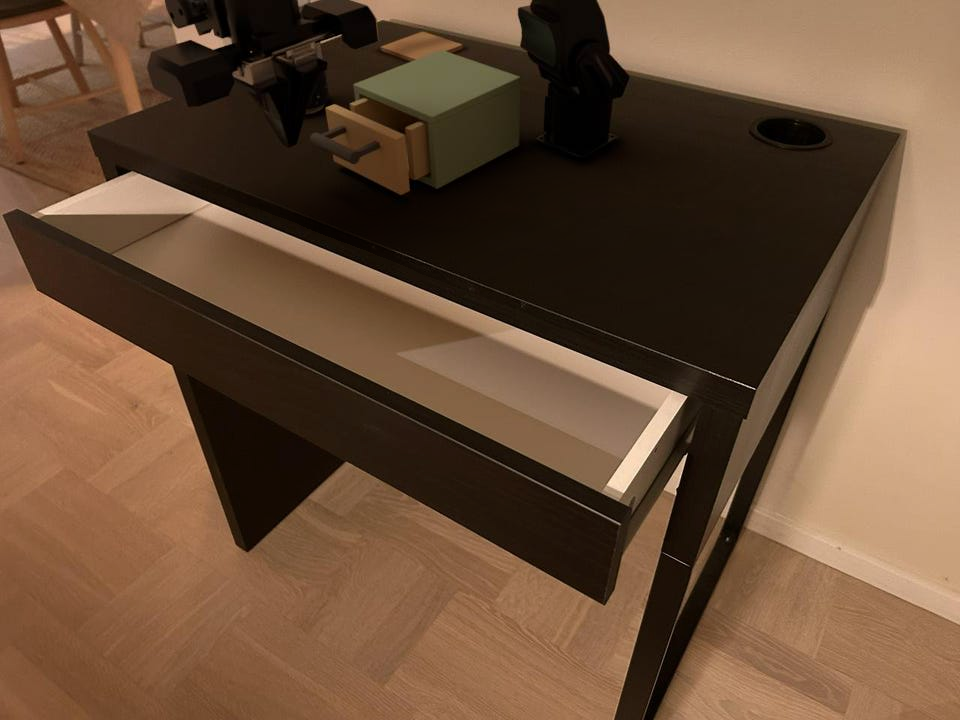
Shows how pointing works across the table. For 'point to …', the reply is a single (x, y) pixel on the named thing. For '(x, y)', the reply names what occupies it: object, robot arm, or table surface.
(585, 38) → the robot arm
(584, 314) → the table surface
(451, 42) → the coaster
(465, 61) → the cabinet
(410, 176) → the drawer
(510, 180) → the table surface
